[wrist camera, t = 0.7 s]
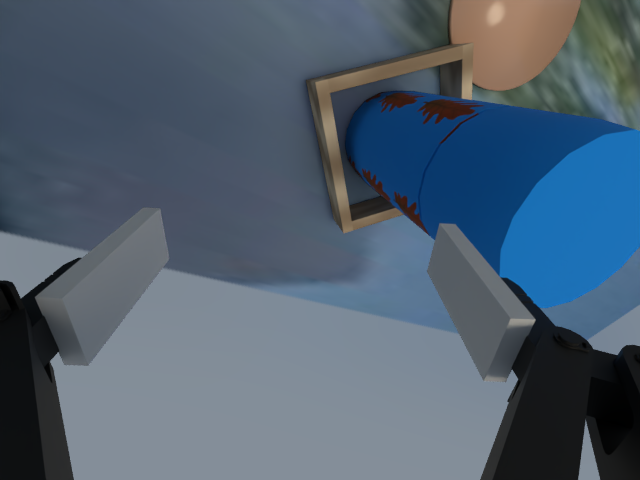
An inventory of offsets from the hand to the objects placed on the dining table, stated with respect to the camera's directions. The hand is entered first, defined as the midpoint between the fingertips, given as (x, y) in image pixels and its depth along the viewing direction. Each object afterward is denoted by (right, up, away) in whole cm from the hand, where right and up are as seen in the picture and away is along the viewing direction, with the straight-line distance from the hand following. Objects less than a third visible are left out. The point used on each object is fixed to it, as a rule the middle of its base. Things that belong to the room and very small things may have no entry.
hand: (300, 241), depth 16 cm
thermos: (+9, +12, +23) cm, 28 cm away
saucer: (+22, +25, +20) cm, 39 cm away
